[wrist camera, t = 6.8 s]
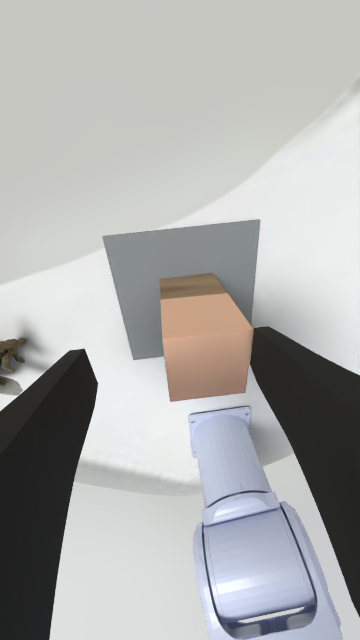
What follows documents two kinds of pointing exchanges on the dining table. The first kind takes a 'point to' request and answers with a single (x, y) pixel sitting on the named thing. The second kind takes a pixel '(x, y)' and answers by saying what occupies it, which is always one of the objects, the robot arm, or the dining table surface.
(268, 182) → the dining table surface
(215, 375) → the terracotta block
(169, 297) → the walnut block
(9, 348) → the eagle figurine
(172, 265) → the mat
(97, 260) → the dining table surface
